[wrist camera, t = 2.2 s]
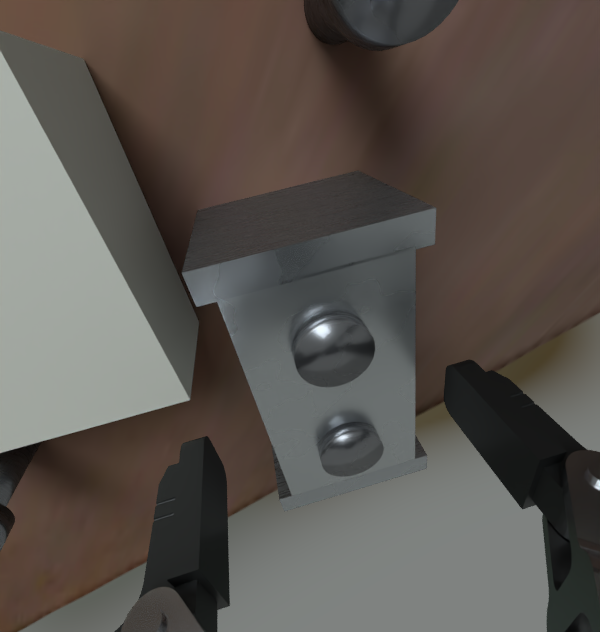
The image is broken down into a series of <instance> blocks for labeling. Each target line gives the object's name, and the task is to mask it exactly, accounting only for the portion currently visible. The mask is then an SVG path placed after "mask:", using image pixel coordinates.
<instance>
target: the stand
mask: <svg viewBox="0 0 600 632" xmlns="http://www.w3.org/2000/svg"><path fill="white" fill-rule="evenodd" d="M198 328H199V321H198V318H197V316H196V314H195V312H194V309H193V307H192V305H191V303H190V300H189V298H188V296H187V293H186V291H185V289H184V287H183V284H182V282H181V280H180V277H179V275H178V273H177V271H176V268H175V266H174V264H173V262H172V259H171V257H170V255H169V252H168V250H167V248H166V246H165V243H164V241H163V239H162V236H161V234H160V232H159V230H158V227H157V225H156V223H155V221H154V218H153V216H152V214H151V211H150V209H149V207H148V205H147V202H146V200H145V198H144V195H143V193H142V191H141V189H140V186H139V184H138V182H137V180H136V177H135V175H134V173H133V170H132V168H131V166H130V164H129V161H128V159H127V157H126V154H125V152H124V150H123V148H122V145H121V143H120V141H119V139H118V136H117V134H116V132H115V129H114V127H113V125H112V123H111V120H110V118H109V116H108V113H107V111H106V109H105V107H104V104H103V102H102V100H101V98H100V95H99V93H98V91H97V88H96V86H95V84H94V82H93V79H92V77H91V75H90V72H89V70H88V68H87V66H86V63H85V61H84V59H82V58H79V57H76V56H73V55H71V54H68V53H65V52H62V51H59V50H56V49H53V48H50V47H47V46H44V45H41V44H38V43H35V42H32V41H29V40H26V39H23V38H20V37H18V36H15V35H12V34H9V33H6V32H3V31H0V453H2V452H6V451H9V450H13V449H16V448H20V447H24V446H27V445H31V444H34V443H38V442H41V441H45V440H49V439H52V438H56V437H59V436H63V435H67V434H70V433H74V432H77V431H81V430H84V429H88V428H92V427H95V426H99V425H102V424H106V423H110V422H113V421H117V420H120V419H124V418H127V417H131V416H135V415H138V414H142V413H145V412H149V411H153V410H156V409H160V408H163V407H167V406H171V405H174V404H178V403H181V402H185V401H188V400H190V398H191V389H192V381H193V372H194V363H195V354H196V346H197V337H198Z"/></svg>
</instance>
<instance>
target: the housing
mask: <svg viewBox="0 0 600 632" xmlns="http://www.w3.org/2000/svg"><path fill="white" fill-rule="evenodd" d="M435 225H436V207H433V206H431V205H429V204H427V203H425V202H423V201H421V200H419V199H417V198H415V197H412V196H410V195H408V194H406V193H404V192H402V191H400V190H398V189H396V188H394V187H392V186H389V185H387V184H385V183H383V182H381V181H379V180H377V179H375V178H373V177H371V176H368V175H366V174H364V173H362V172H360V171H354V172H350V173H346V174H342V175H338V176H334V177H330V178H326V179H322V180H318V181H314V182H310V183H306V184H302V185H298V186H293V187H289V188H285V189H281V190H277V191H273V192H269V193H265V194H261V195H257V196H253V197H249V198H245V199H241V200H237V201H233V202H229V203H225V204H221V205H216V206H212V207H208V208H204V209H200V210H198V211H197V215H196V219H195V223H194V227H193V231H192V235H191V238H190V242H189V246H188V250H187V254H186V258H185V262H184V266H183V270H182V275H183V277H184V280H185V282H186V284H187V287H188V289H189V291H190V294H191V296H192V298H193V301H194V303H195V305H196V307H198V306H202V305H206V304H210V303H214V302H217V303H218V306H219V308H220V311H221V313H222V316H223V319H224V321H225V324H226V326H227V329H228V332H229V334H230V337H231V339H232V342H233V344H234V347H235V350H236V352H237V355H238V357H239V360H240V363H241V365H242V368H243V370H244V373H245V376H246V378H247V381H248V383H249V386H250V388H251V391H252V394H253V396H254V399H255V401H256V404H257V407H258V409H259V412H260V414H261V417H262V420H263V422H264V425H265V427H266V430H267V432H268V435H269V438H270V440H271V443H272V450H273V458H274V465H275V472H276V479H277V486H278V493H279V500H280V502H281V504H282V507H283V509H284V511H288V510H291V509H294V508H297V507H301V506H304V505H307V504H310V503H314V502H317V501H320V500H324V499H327V498H330V497H334V496H337V495H340V494H344V493H347V492H350V491H354V490H357V489H360V488H364V487H367V486H370V485H373V484H377V483H380V482H383V481H387V480H390V479H393V478H396V477H400V476H403V475H407V474H410V473H413V472H416V471H420V470H423V469H426V468H427V454H426V453H425V451H424V449H423V447H422V446H421V444H420V442H419V441H418V439H417V437H416V435H415V311H416V249H419V248H423V247H426V246H430V245H434V244H435Z"/></svg>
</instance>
